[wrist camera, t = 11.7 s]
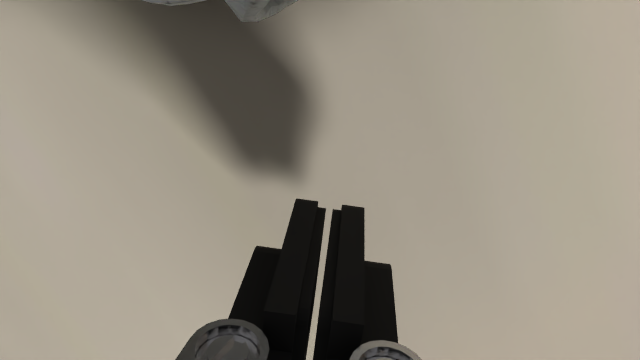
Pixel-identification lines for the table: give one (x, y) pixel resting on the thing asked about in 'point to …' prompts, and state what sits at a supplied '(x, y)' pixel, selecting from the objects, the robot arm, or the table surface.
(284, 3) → the ceramic mug
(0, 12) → the table surface
